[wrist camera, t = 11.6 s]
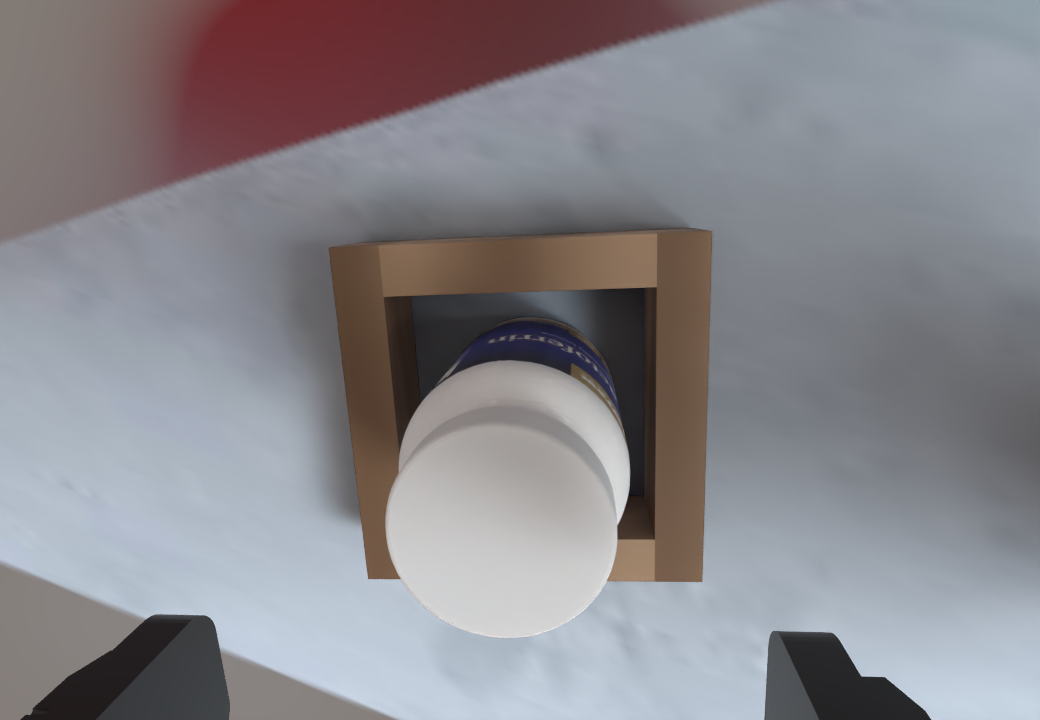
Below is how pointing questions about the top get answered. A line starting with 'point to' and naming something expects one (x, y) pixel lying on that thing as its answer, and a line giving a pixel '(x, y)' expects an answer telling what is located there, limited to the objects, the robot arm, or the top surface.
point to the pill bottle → (512, 483)
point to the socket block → (526, 268)
